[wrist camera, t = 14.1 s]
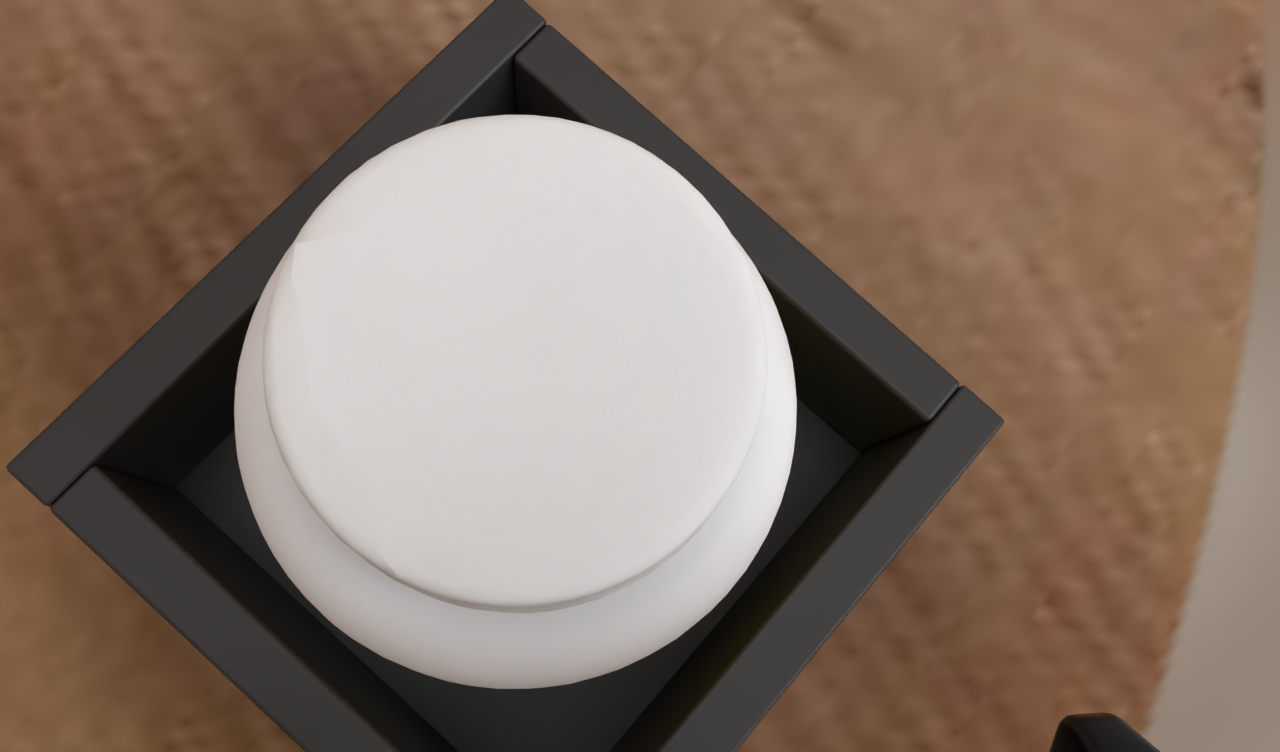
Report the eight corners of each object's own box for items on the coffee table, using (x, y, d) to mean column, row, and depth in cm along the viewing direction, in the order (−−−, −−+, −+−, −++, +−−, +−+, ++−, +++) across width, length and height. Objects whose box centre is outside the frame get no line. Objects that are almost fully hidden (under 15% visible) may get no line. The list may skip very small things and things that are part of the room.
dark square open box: (914, 454, 20) (1006, 420, 16) (545, 897, 18) (547, 982, 14) (514, 101, 20) (507, -16, 17) (115, 493, 19) (0, 466, 15)
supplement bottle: (479, 723, 18) (403, 887, 8) (290, 435, 18) (-2, 248, 8) (759, 522, 19) (1009, 442, 9) (572, 256, 19) (609, -102, 9)
